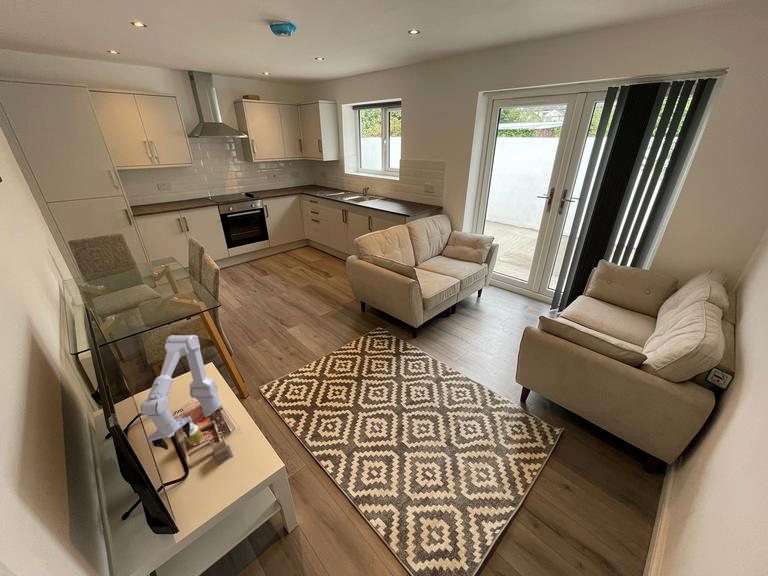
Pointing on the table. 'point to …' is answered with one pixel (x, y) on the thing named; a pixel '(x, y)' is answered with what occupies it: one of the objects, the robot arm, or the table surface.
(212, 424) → the beech tray
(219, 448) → the walnut block
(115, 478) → the table surface
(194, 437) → the supplement bottle
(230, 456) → the slate coaster
